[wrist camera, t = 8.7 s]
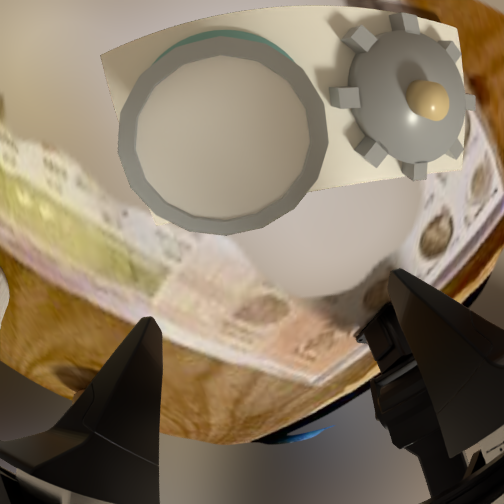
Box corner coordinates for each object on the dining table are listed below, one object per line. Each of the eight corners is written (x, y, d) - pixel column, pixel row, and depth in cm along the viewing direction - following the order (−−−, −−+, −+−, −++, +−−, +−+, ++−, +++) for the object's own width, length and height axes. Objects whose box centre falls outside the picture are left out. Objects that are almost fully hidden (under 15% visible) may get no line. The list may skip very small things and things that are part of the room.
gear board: (444, 28, 11) (484, 29, 7) (450, 163, 18) (485, 185, 14) (109, 56, 12) (76, 52, 8) (160, 215, 19) (146, 252, 15)
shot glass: (158, 63, 11) (107, 52, 6) (287, 58, 12) (336, 43, 6) (167, 177, 15) (134, 242, 10) (283, 172, 16) (318, 234, 10)
